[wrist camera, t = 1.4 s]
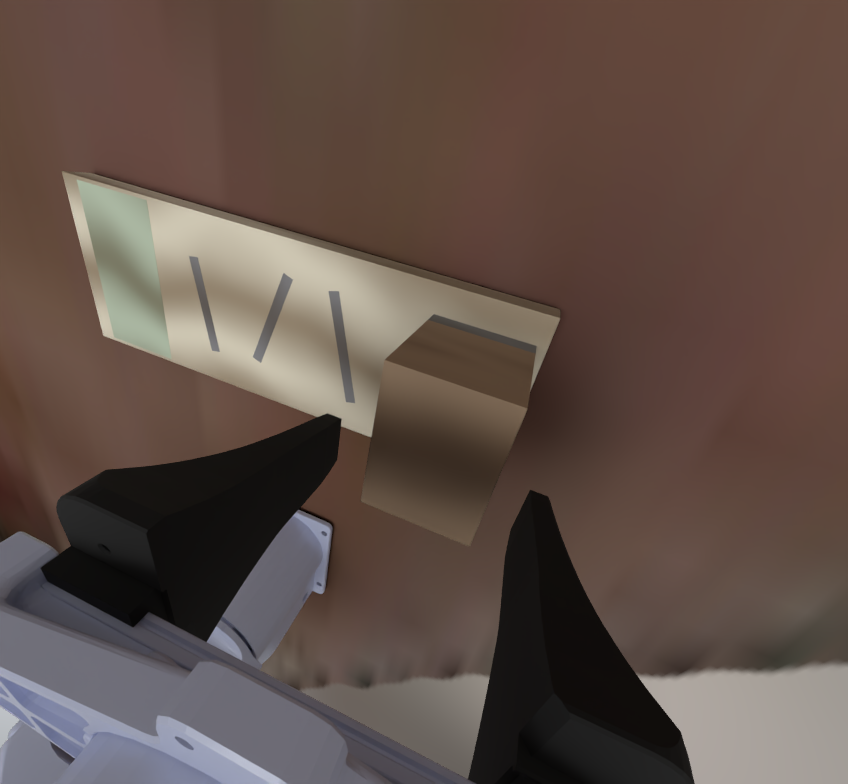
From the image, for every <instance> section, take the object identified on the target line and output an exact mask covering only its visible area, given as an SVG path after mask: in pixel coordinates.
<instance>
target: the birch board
mask: <svg viewBox="0 0 848 784" xmlns="http://www.w3.org/2000/svg"><path fill="white" fill-rule="evenodd" d="M62 174H63V178H64V181H65V185H66V189H67V193H68V197H69V201H70V205H71V209H72V213H73V217H74V221H75V225H76V229H77V233H78V237H79V241H80V245H81V249H82V253H83V257H84V260H85V264H86V268H87V272H88V276H89V280H90V284H91V288H92V292H93V296H94V300H95V304H96V308H97V312H98V316H99V320H100V324H101V328H102V332H103V336H106V337H109V338H111V339H114V340H116V341H119V342H122V343H124V344H127V345H130V346H132V347H135V348H138V349H140V350H143V351H145V352H148V353H151V354H153V355H156V356H159V357H161V358H164V359H166V360H169V361H172V362H174V363H177V364H180V365H182V366H185V367H187V368H190V369H193V370H195V371H198V372H201V373H203V374H206V375H208V376H211V377H214V378H216V379H219V380H222V381H224V382H227V383H229V384H232V385H235V386H237V387H240V388H243V389H245V390H248V391H250V392H253V393H256V394H258V395H261V396H264V397H266V398H269V399H271V400H274V401H277V402H279V403H282V404H285V405H287V406H290V407H292V408H295V409H298V410H300V411H303V412H306V413H308V414H311V415H313V416H316V417H319V416H322V415H324V414H327V413H328V414H330V415H333V416H336V417H338V418H341V419H342V420H341V426H342V427H345V428H348V429H350V430H353V431H355V432H358V433H361V434H363V435H366V436H369V437H371V436H372V430H373V425H374V419H375V413H376V407H377V401H378V395H379V389H380V383H381V377H382V371H383V365H384V360H385V359H386V358H387V357H388V356H389V355H390V354H391V353H392V352H393V351H395V350H396V349H397V348H398V347H399V346H400V345H401V344H402V343H403V342H404V341H405V340H406V339H408V338H409V337H410V336H411V335H412V334H413V333H414V332H415V331H416V330H417V329H418V328H419V327H420V326H422V325H423V324H424V323H425V322H426V321H427V320H428V319H429V318H430V317H431V316H432V315H433V314H435V315H439V316H442V317H445V318H448V319H451V320H455V321H458V322H461V323H464V324H468V325H471V326H474V327H477V328H480V329H484V330H487V331H490V332H493V333H497V334H500V335H503V336H506V337H509V338H513V339H516V340H519V341H522V342H526V343H529V344H532V345H535V346H537V348H536V355H535V362H534V368H533V375H532V382H531V388H532V386H533V384H534V381H535V379H536V376H537V374H538V371H539V369H540V367H541V364H542V362H543V359H544V357H545V354H546V352H547V350H548V347H549V345H550V342H551V340H552V338H553V335H554V333H555V330H556V328H557V325H558V323H559V321H560V309H557V308H553V307H550V306H546V305H543V304H539V303H536V302H533V301H529V300H526V299H522V298H519V297H515V296H512V295H508V294H505V293H502V292H498V291H495V290H491V289H488V288H484V287H481V286H478V285H474V284H471V283H467V282H464V281H460V280H457V279H453V278H450V277H447V276H443V275H440V274H436V273H433V272H429V271H426V270H423V269H419V268H416V267H412V266H409V265H405V264H402V263H398V262H395V261H392V260H388V259H385V258H381V257H378V256H374V255H371V254H368V253H364V252H361V251H357V250H354V249H350V248H347V247H343V246H340V245H337V244H333V243H330V242H326V241H323V240H319V239H316V238H313V237H309V236H306V235H302V234H299V233H295V232H292V231H289V230H285V229H282V228H278V227H275V226H271V225H268V224H264V223H261V222H258V221H254V220H251V219H247V218H244V217H240V216H237V215H234V214H230V213H227V212H223V211H220V210H216V209H213V208H209V207H206V206H203V205H199V204H196V203H192V202H189V201H185V200H182V199H179V198H175V197H172V196H168V195H165V194H161V193H158V192H154V191H151V190H148V189H144V188H141V187H137V186H134V185H130V184H127V183H124V182H120V181H117V180H113V179H110V178H106V177H103V176H99V175H96V174H93V173H84V172H66V171H62ZM530 391H531V389H530Z"/></svg>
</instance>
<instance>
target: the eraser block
mask: <svg viewBox="0 0 848 784" xmlns="http://www.w3.org/2000/svg"><path fill="white" fill-rule="evenodd" d="M536 348H537V346H535V345H532V344H529V343H526V342H522V341H519V340H516V339H513V338H509V337H506V336H503V335H500V334H497V333H493V332H490V331H487V330H484V329H480V328H477V327H474V326H471V325H468V324H464V323H461V322H458V321H455V320H451V319H448V318H445V317H442V316H439V315H435V314H433V315H432V316H431V317H430V318H429V319H428V320H427V321H426V322H425V323H424V324H423V325H422V326H420V327H419V328H418V329H417V330H416V331H415V332H414V333H413V334H412V335H411V336H410V337H409V338H408V339H406V340H405V341H404V342H403V343H402V344H401V345H400V346H399V347H398V348H397V349H396V350H395V351H393V352H392V353H391V354H390V355H389V356H388V357H387V358H386V359H385V360H384V365H383V371H382V377H381V383H380V389H379V395H378V401H377V407H376V413H375V419H374V425H373V430H372V436H371V442H370V448H369V454H368V460H367V466H366V472H365V478H364V484H363V490H362V496H361V502H363V503H365V504H368V505H370V506H372V507H375V508H377V509H380V510H382V511H385V512H387V513H389V514H392V515H394V516H397V517H399V518H401V519H404V520H406V521H409V522H411V523H414V524H416V525H418V526H421V527H423V528H426V529H428V530H430V531H433V532H435V533H438V534H440V535H442V536H445V537H447V538H450V539H452V540H455V541H457V542H459V543H462V544H464V545H467V546H469V547H470V545H471V542H472V540H473V537H474V535H475V533H476V530H477V528H478V526H479V523H480V521H481V518H482V516H483V514H484V511H485V509H486V507H487V504H488V502H489V499H490V497H491V495H492V492H493V490H494V488H495V485H496V483H497V480H498V478H499V476H500V473H501V471H502V469H503V466H504V464H505V461H506V459H507V457H508V454H509V452H510V449H511V447H512V445H513V442H514V440H515V438H516V435H517V433H518V430H519V428H520V426H521V423H522V421H523V419H524V416H525V414H526V411H527V409H528V403H529V396H530V389H531V382H532V375H533V368H534V362H535V355H536Z"/></svg>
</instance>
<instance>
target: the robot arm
mask: <svg viewBox="0 0 848 784" xmlns="http://www.w3.org/2000/svg"><path fill="white" fill-rule="evenodd" d="M341 420H342V419H341V418H338V417H336V416H333V415H330V414H328V413H327V414H324V415H322V416H319V417H317V418H315V419H313V420H310V421H308V422H306V423H303V424H301V425H299V426H297V427H294V428H292V429H289V430H287V431H285V432H282V433H280V434H277V435H275V436H272V437H269V438H266V439H264V440H261V441H258V442H256V443H253V444H250V445H247V446H244V447H241V448H237V449H234V450H230V451H226V452H223V453H219V454H215V455H210V456H206V457H201V458H196V459H192V460H187V461H181V462H175V463H169V464H161V465H154V466H146V467H135V468H123V469H111V470H105V471H103V472H101V473H100V474H98V475H96V476H95V477H93V478H91V479H90V480H88V481H86V482H85V483H83V484H81V485H80V486H78V487H76V488H75V489H73V490H71V491H70V492H68V493H66V494H65V495H63V496H61V497H60V499H59V500H58V502H57V513H58V517H59V519H60V522H61V524H62V526H63V528H64V531H65V533H66V535H67V538H68V540H69V542H70V544H71V546H70V547H69V548H68V549H66V550H65V551H63V552H62V553H61V554H59V553H58V552H57V551H56V550H55V549H54V548H53V547H51V546H50V545H48V544H46V543H44V542H42V541H40V540H38V539H36V538H34V537H32V536H30V535H29V534H27V533H25V532H17V533H16V534H14V535H12V536H11V537H9V538H8V539H6V540H4V541H3V542H1V543H0V706H1V707H2V708H4V709H5V710H6V711H8V712H9V713H11V714H12V715H14V716H15V717H17V718H18V719H19V720H20V721H19V722H18V723H17V724H16V725H15V726H14V727H13V728H12V729H11V730H10V731H9V734H8V740H7V741H6V742H5V743H4V744H3V745H2V747H1V748H0V784H694V779H693V776H692V770H691V766H690V762H689V758H688V754H687V751H686V748H685V745H684V741H683V738H682V735H681V732H680V730H679V729H678V728H677V727H676V726H675V724H674V723H673V722H672V720H671V719H670V718H669V717H668V715H667V714H666V713H665V711H664V710H663V709H662V708H661V707H660V705H659V704H658V703H657V701H656V700H655V699H654V698H653V696H652V695H651V694H650V693H649V691H648V690H647V689H646V687H645V686H644V685H643V683H642V682H641V680H640V679H639V678H638V676H637V675H636V673H635V672H634V671H633V669H632V668H631V667H630V665H629V664H628V662H627V661H626V659H625V658H624V656H623V655H622V653H621V652H620V650H619V649H618V647H617V646H616V644H615V643H614V641H613V639H612V638H611V636H610V635H609V633H608V632H607V630H606V628H605V627H604V625H603V624H602V622H601V620H600V618H599V617H598V615H597V613H596V612H595V610H594V608H593V606H592V604H591V602H590V600H589V598H588V597H587V595H586V593H585V591H584V589H583V586H582V584H581V582H580V580H579V578H578V576H577V574H576V571H575V569H574V567H573V565H572V562H571V560H570V557H569V555H568V552H567V550H566V547H565V545H564V542H563V539H562V537H561V534H560V531H559V528H558V525H557V522H556V519H555V516H554V513H553V510H552V506H551V503H550V500H549V498H548V496H545V495H542V494H540V493H537V492H534V491H532V490H530V491H529V493H528V496H527V498H526V500H525V502H524V504H523V506H522V508H521V510H520V512H519V514H518V516H517V518H516V520H515V522H514V524H513V526H512V528H511V531H510V536H509V541H508V545H507V550H506V555H505V564H504V575H503V586H502V598H501V610H500V621H499V629H498V636H497V642H496V647H495V653H494V658H493V663H492V669H491V674H490V679H489V684H488V690H487V694H486V699H485V704H484V709H483V714H482V719H481V723H480V728H479V733H478V737H477V742H476V746H475V751H474V755H473V760H472V764H471V769H470V773H469V778H468V779H466V778H464V777H462V776H460V775H459V774H457V773H455V772H453V771H451V770H449V769H447V768H445V767H443V766H441V765H440V764H438V763H435V762H434V761H432V760H430V759H428V758H426V757H424V756H422V755H420V754H419V753H416V752H415V751H413V750H411V749H409V748H407V747H405V746H403V745H401V744H400V743H398V742H395V741H394V740H392V739H390V738H388V737H386V736H384V735H382V734H380V733H379V732H377V731H375V730H373V729H371V728H369V727H367V726H365V725H363V724H361V723H360V722H358V721H356V720H354V719H352V718H350V717H348V716H346V715H344V714H342V713H340V712H338V711H337V710H335V709H333V708H331V707H329V706H327V705H325V704H323V703H321V702H319V701H318V700H316V699H314V698H312V697H310V696H308V695H306V694H304V693H302V692H300V691H299V690H297V689H295V688H293V687H291V686H289V685H287V684H285V683H283V682H281V681H279V680H278V679H276V678H274V677H272V676H270V675H268V674H266V673H264V672H262V671H260V669H261V667H262V663H264V662H265V661H266V660H267V659H268V658H269V657H270V656H271V655H272V654H273V652H274V651H275V650H276V648H277V646H278V645H279V643H280V642H281V640H282V638H283V637H284V635H285V634H286V632H287V631H288V629H289V627H290V626H291V624H292V623H293V621H294V619H295V618H296V616H297V615H298V613H299V611H300V610H301V608H302V607H303V605H304V603H305V602H306V600H307V599H308V597H309V595H310V594H311V592H312V591H314V592H316V593H319V594H323V592H324V591H325V587H326V579H327V571H328V562H329V554H330V546H331V537H332V529H333V528H332V525H331V524H330V523H328V522H326V521H324V520H321V519H319V518H317V517H315V516H312V515H310V514H308V513H305V512H303V511H301V510H298V509H299V508H300V507H301V506H302V505H303V504H304V503H305V501H306V500H307V499H308V498H309V497H310V496H311V495H312V493H313V492H314V491H315V490H316V489H317V488H318V486H319V485H320V484H321V483H322V482H323V480H324V479H325V477H326V476H327V474H328V473H329V472H330V470H331V468H332V467H333V465H334V464H335V462H336V461H337V456H338V447H339V438H340V429H341Z"/></svg>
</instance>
